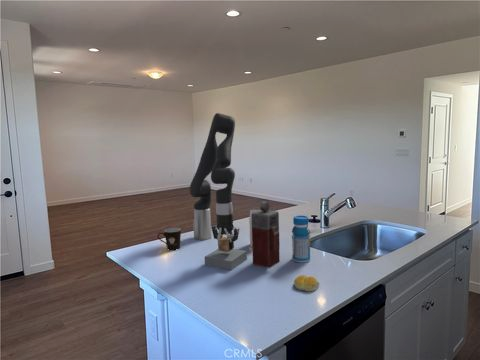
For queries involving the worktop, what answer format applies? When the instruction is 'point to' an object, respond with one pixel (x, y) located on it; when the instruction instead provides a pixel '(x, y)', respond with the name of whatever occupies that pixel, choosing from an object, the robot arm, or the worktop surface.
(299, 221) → the beverage bottle
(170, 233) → the coffee mug
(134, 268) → the worktop surface
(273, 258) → the red rectangular canister
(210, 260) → the gray square block
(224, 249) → the walnut cube
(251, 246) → the milk carton
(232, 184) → the robot arm
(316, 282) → the bread roll
